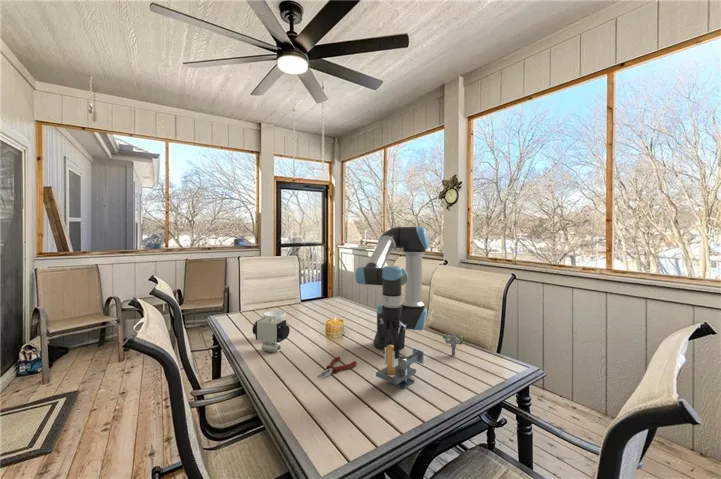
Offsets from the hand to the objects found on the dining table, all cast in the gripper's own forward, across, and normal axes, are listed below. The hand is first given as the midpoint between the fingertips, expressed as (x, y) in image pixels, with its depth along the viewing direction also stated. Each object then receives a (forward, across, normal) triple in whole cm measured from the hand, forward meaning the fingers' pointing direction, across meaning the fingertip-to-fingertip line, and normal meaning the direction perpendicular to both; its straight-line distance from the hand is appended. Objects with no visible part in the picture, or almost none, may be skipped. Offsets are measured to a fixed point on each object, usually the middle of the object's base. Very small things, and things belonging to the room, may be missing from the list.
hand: (391, 364), depth 123 cm
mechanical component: (+10, +2, +48) cm, 49 cm away
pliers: (+10, -30, -4) cm, 32 cm away
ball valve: (+10, -68, -13) cm, 70 cm away
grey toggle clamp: (+10, 0, +8) cm, 13 cm away
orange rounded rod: (+4, 0, 0) cm, 4 cm away
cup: (+10, -82, -3) cm, 83 cm away
